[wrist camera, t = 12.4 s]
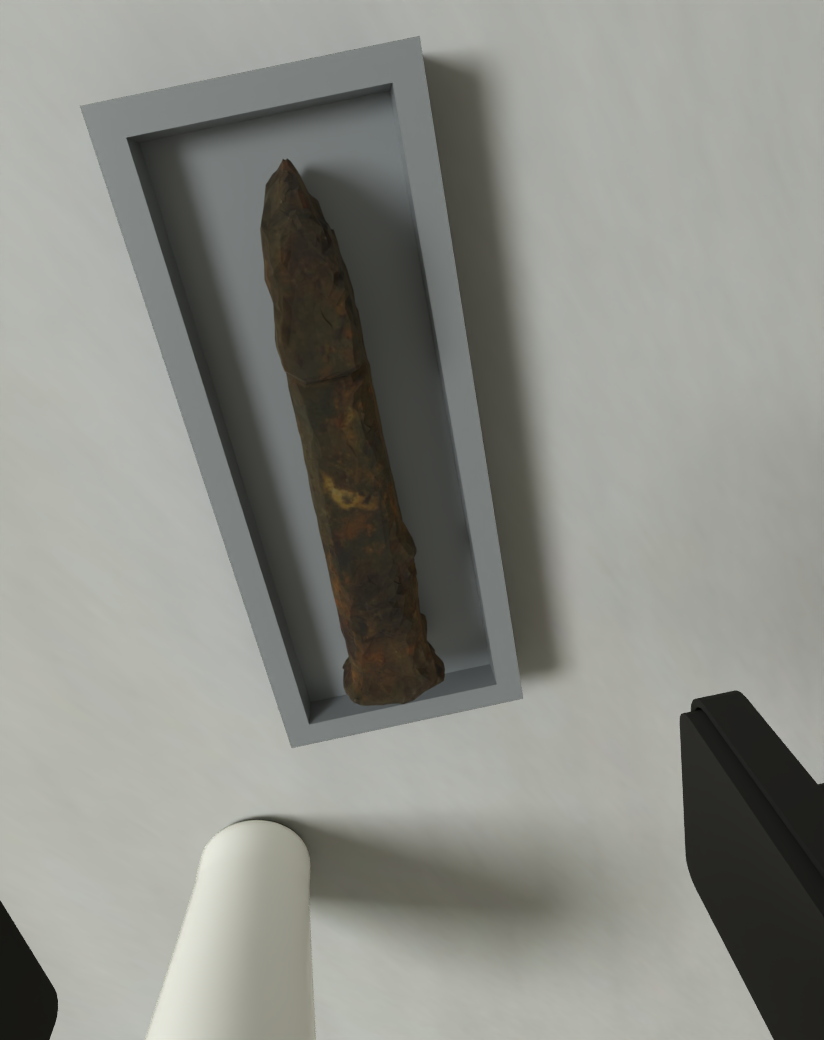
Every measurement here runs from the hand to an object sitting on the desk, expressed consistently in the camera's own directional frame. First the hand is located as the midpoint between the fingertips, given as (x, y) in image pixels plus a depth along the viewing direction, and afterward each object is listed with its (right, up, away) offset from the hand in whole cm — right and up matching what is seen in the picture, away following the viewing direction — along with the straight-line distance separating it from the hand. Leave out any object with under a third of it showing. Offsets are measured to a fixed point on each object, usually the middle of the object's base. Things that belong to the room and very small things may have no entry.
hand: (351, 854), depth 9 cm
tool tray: (-2, +8, +18) cm, 20 cm away
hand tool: (-2, +7, +18) cm, 19 cm away
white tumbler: (-7, -12, +26) cm, 30 cm away
